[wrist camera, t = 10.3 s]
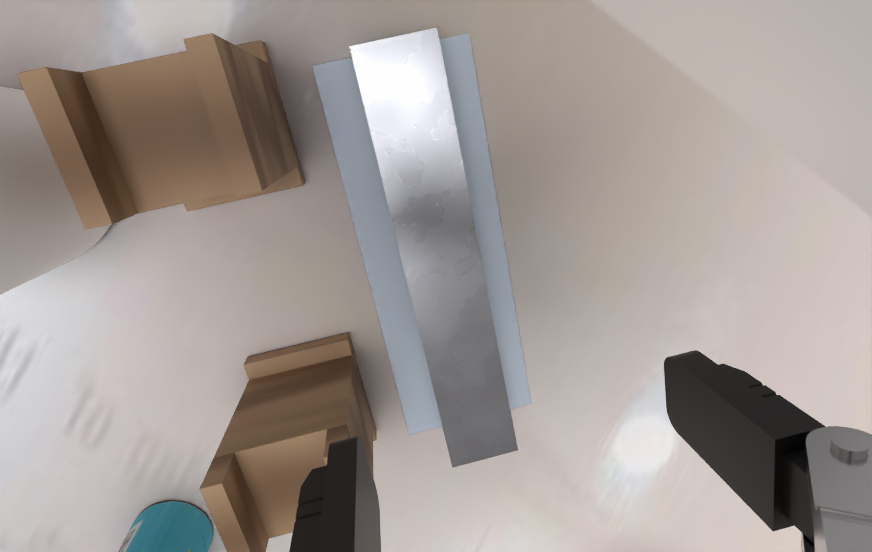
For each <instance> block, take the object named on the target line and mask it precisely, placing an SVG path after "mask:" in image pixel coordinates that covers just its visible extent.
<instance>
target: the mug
mask: <svg viewBox="0 0 872 552" xmlns="http://www.w3.org/2000/svg"><path fill="white" fill-rule="evenodd" d="M110 225H111V224H110ZM110 225H106V226H101V227H97V228H92V229H88V230H85V228H84V226H83V224H82V221H81V219H80V217H79V214H78V212H77V210H76V208H75V205H74V203H73V201H72V199H71V196H70V194H69V192H68V190H67V187H66V185H65V183H64V180H63V178H62V176H61V174H60V171H59V169H58V167H57V165H56V162H55V160H54V158H53V155H52V153H51V151H50V149H49V146H48V144H47V142H46V140H45V137H44V135H43V133H42V131H41V128H40V126H39V124H38V121H37V119H36V117H35V115H34V112H33V110H32V108H31V106H30V103H29V101H28V99H27V97H26V94H25V92H24V90H20V89H14V88H7V87H0V294H2V293H4V292H6V291H9V290H11V289H13V288H15V287H17V286H19V285H21V284H23V283H25V282H27V281H29V280H31V279H33V278H36V277H38V276H40V275H42V274H44V273H46V272H48V271H50V270H52V269H54V268H56V267H58V266H60V265H63V264H65V263H67V262H69V261H71V260H73V259H74V258H76V257H78V256H79V255H81V254H83V253H84V252H86V251H87V250H89V249H90V248H91V247H92V246H94V245H95V244H96V243H97V242H98V241H99V240H100V239H101V237H102V236H103V235H104V234H105V233H106V231H107V230H108V228H109V227H110Z"/></svg>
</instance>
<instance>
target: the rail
mask: <svg viewBox="0 0 872 552" xmlns="http://www.w3.org/2000/svg"><path fill="white" fill-rule="evenodd" d="M349 47H350V51H351V55H352V59H353V63H354V68H355V72H356V76H357V80H358V84H359V88H360V92H361V96H362V100H363V104H364V108H365V112H366V117H367V121H368V125H369V129H370V133H371V137H372V141H373V145H374V149H375V153H376V157H377V161H378V165H379V170H380V174H381V178H382V182H383V186H384V190H385V194H386V198H387V202H388V206H389V210H390V214H391V218H392V223H393V227H394V231H395V235H396V239H397V243H398V247H399V251H400V255H401V259H402V263H403V267H404V271H405V276H406V280H407V284H408V288H409V292H410V296H411V300H412V304H413V308H414V312H415V316H416V320H417V325H418V329H419V333H420V337H421V341H422V345H423V349H424V353H425V357H426V361H427V365H428V369H429V373H430V378H431V382H432V386H433V390H434V394H435V398H436V402H437V406H438V410H439V414H440V418H441V422H442V426H443V431H444V435H445V439H446V443H447V447H448V451H449V455H450V459H451V463H452V467H456V466H460V465H464V464H468V463H471V462H475V461H479V460H483V459H486V458H490V457H494V456H498V455H501V454H505V453H509V452H513V451H517V450H518V448H517V443H516V437H515V432H514V427H513V422H512V417H511V411H510V406H509V401H508V396H507V390H506V385H505V380H504V375H503V370H502V364H501V359H500V354H499V349H498V343H497V338H496V333H495V328H494V322H493V317H492V312H491V307H490V302H489V296H488V291H487V286H486V281H485V275H484V270H483V265H482V260H481V255H480V249H479V244H478V239H477V234H476V228H475V223H474V218H473V213H472V208H471V202H470V197H469V192H468V187H467V181H466V176H465V171H464V166H463V161H462V155H461V150H460V145H459V140H458V134H457V129H456V124H455V119H454V114H453V108H452V103H451V98H450V93H449V87H448V82H447V77H446V72H445V66H444V61H443V56H442V51H441V46H440V40H439V35H438V30H437V28H432V29H427V30H423V31H418V32H414V33H409V34H404V35H400V36H395V37H390V38H386V39H381V40H377V41H372V42H367V43H363V44H358V45H353V46H349Z"/></svg>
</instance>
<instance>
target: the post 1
mask: <svg viewBox="0 0 872 552" xmlns="http://www.w3.org/2000/svg"><path fill="white" fill-rule="evenodd" d="M184 42H185V45H186V48H187V51H184V52H180V53H175V54H170V55H165V56H160V57H155V58H150V59H145V60H141V61H136V62H131V63H126V64H121V65H116V66H111V67H106V68H101V69H97V70H92V71H87V72H82V73H81V72H74V71H68V70H61V69H55V68H48V67H45V68H40V69H35V70H30V71H25V72H20V73H16V74H17V76H18V78H19V81H20V83H21V85H22V87H23V90H24V92H25V94H26V97H27V99H28V101H29V103H30V106H31V108H32V110H33V112H34V115H35V117H36V119H37V121H38V124H39V126H40V128H41V131H42V133H43V135H44V137H45V140H46V142H47V144H48V146H49V149H50V151H51V153H52V155H53V158H54V160H55V162H56V165H57V167H58V169H59V171H60V174H61V176H62V178H63V180H64V183H65V185H66V187H67V190H68V192H69V194H70V196H71V199H72V201H73V203H74V205H75V208H76V210H77V212H78V214H79V217H80V219H81V221H82V224H83V226H84V228H85V230H88V229H92V228H97V227H101V226H106V225H110V224H114V223H116V222H118V221H121V220H123V219H125V218H128V217H130V216H133V215H135V214H137V213H142V212H146V211H151V210H155V209H160V208H164V207H169V206H173V205H178V204H182V203H184V205H185V207H186V210H187V211H191V210H196V209H200V208H205V207H209V206H214V205H218V204H222V203H227V202H231V201H236V200H240V199H245V198H249V197H254V196H258V195H263V194H267V193H272V192H276V191H281V190H285V189H290V188H294V187H299V186H303V185H304V184H305V181H304V178H303V174H302V171H301V167H300V164H299V160H298V157H297V153H296V150H295V146H294V143H293V139H292V136H291V132H290V129H289V126H288V122H287V119H286V115H285V112H284V108H283V105H282V101H281V98H280V94H279V91H278V87H277V84H276V80H275V77H274V73H273V70H272V66H271V63H270V59H269V56H268V53H267V49H266V46H265V43H264V42H262V41H261V40H260V41H255V42H250V43H245V44H240V45H233V44H231V43H229V42H228V41H226V40H224V39H222V38H220V37H218V36H216V35H214V34H213V33H212V34H207V35H202V36H197V37H192V38H187V39H184Z"/></svg>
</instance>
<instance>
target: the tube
mask: <svg viewBox="0 0 872 552" xmlns="http://www.w3.org/2000/svg"><path fill="white" fill-rule="evenodd" d="M212 537H213V530H212V526H211V523H210V521H209V519H208V518H207V516H206V515H205V514H204V513H203V512H202V511H201V510H199V509H198V508H196V507H195V506H193V505H190V504H188V503H184V502H178V501H170V502H163V503H158V504H155V505H153V506H150V507H148V508H147V509H145V510H144V511H143V512H142V513H141V514H140V515H139V516H138V517H137V518H136V520H135V522H134V523H133V525H132V527H131V529H130V530H129V532H128V534H127V536H126V538H125V540H124V542H123V544H122V546H121V548H120V550H119V552H208V549H209V547H210V544H211V541H212Z"/></svg>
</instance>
